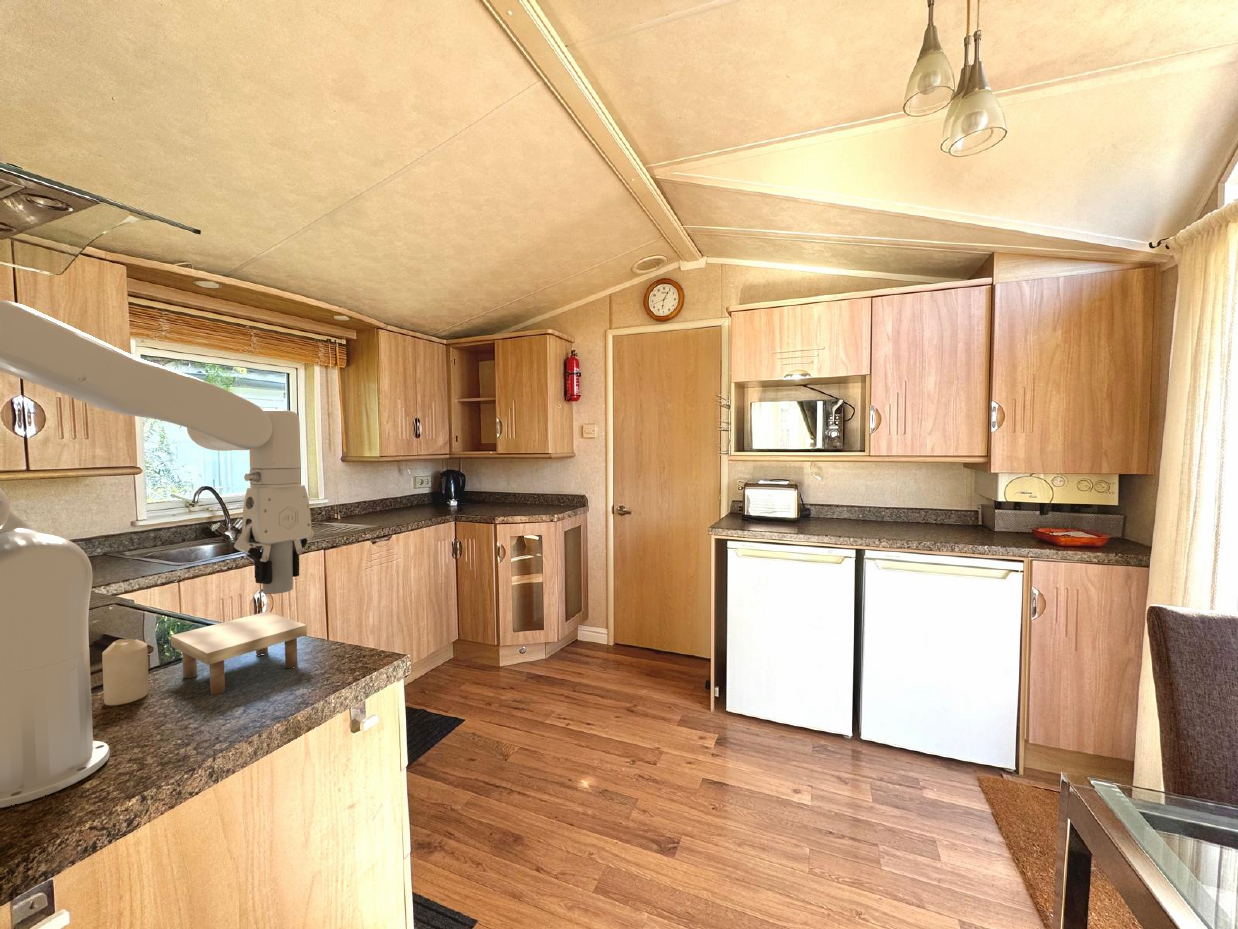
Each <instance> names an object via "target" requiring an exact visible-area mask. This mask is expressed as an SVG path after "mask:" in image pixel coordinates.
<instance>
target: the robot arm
mask: <svg viewBox="0 0 1238 929" xmlns="http://www.w3.org/2000/svg"><path fill="white" fill-rule="evenodd" d="M2 373H5V374H8V375H11V376H14V377H16V378H18V379H22V380H23V381H26V382H29V383H32V384H36V385H38V386H41V387H43V388H46V389H49V390H52V391H54V392H57V393H60V394H62V395H65V396H68V397H69V398H72V399H75V400H77V401H79V402H83V403H86V404H88V405H90V406H93V407H94V408H95V407H96V408H98V409H101V410H103V411H104V410H105V411H108V412H112V413H116V414H121V415H125V416H130V417H131V416H132V417H139V418H146V419H154V420H157V421H158V420H159V421H162V422H166V423H170V424H175V425H178V426H181V427H184V428H186V430H187V435H188V437H189V438H190V439H191V440H192V441H193V442H194V443H195V444H196V445H198V446H200V447H201V448H204V449H207V450H210V451H218V452H219V451H222V452H224V451H249V473H245V474H244V481H246V482H249V486H250V487H247V488H246V493H245V497H244V502H243V510H242V522H241V523H242V524H241V526H242V527H241V530H242V531H241V533H240V536H239V537H238V538H237V540H236V541H235V543H234V544H233V548H235V550H237V551H240V552H241V553H243V554H245V555H246V556H247V557H249V558H250V560H251V561H252V562H254V563H253V565H254V579H255V583H256V584H262V585H263V584H270V583H271V582H272V562H271V561H268V558H269V553H270V548H271V544H276V543H282V542H287V541H292V547H293V578H296V577H299V576H300V555H302V553H304V552H303V551H304V550H303V549H304V548H305V546H306V545H307V544H308V542H309V541H310V540H311V539H312V537H314V535H315V531H314V530H313V528H312V518H311V507H310V501H309V497H308V493H307V489H306V485H305V484H301V479H302V478H301V438H300V437H301V433H300V432H301V429H300V417H299V415H298V414H297V413H296V412H295V411H292V410H289V409H276V408H275V409H271V408H265V409H264V408H263V409H262V408H261V407H260V406H259V405H257V404H255V403H253V402H252V401H250V400H248V399H245V398H244V397H241V396H239V395H238V394H235V393H233V392H231V391H229V390H226V389H225V388H222V387H220V386H219V385H216V384H213V383H211V382H207V381H205V380H203V379H201V378H200V379H199V378H197V377H194V376H192V375H188V374H186V373H182V372H179V371H176V370H174V369H171V368H168V367H165V366H163V365H160V364H158V363H154V362H151V361H147V360H144V359H142V358H139V357H137V356H136V355H135V356H134V355H132V354H130V353H129V352H125V351H123V350H122V349H119V348H117V347H114V346H112V345H111V344H108V343H106V342H104V341H102V340H100V339H98V338H95V337H93V336H92V335H89V334H87V333H85V332H82V331H81V330H79V329H76V328H74V327H72V326H70V325H68V324H66V323H63V322H62V321H59V320H57V319H55V318H53V317H50V316H48V315H46V314H43V313H42V312H39V311H37V310H36V309H34V308H31V307H28V306H26V305H24V304H19V303H18V302H14V301H10V300H7V299H6V300H4V299H0V374H2ZM250 544H252V545H250ZM93 578H94V577H93V567H92V564H91V561H90V559H89V556H88V555H87V554H86V552H85V551H84V550H83V549H82V548H81V547H80V546H79V545H77V544H76V543H74V542H73V541H71V540H68V539H66V538H64V537H61V536H58V535H55V534H49V533H48V534H47V533H43V532H39V531H37V530H36V529H34V527H32V526H31V525H29V524H28V523H27V522H26V521H24V520H23V518H20V516H18V515H17V514H16V513H15V512H14V511H12V510H11V505H10V500H9V498H8V496H7V495H6V493H5V491H4V490H3V489H2V488H1V487H0V809H3V808H7V807H11V805H12V806H16V805H15V804H17V805H19V804H23V803H27V802H31V801H33V800H36V799H40V798H42V797H46V796H48V795H50V794H54V793H56V792H59V791H60V790H63V789H66V788H67V787H69V786H72V785H74V784H76V783H78V782H79V781H81V780H83V779H85V778H87V777H88V776H90V775H92V774H94V773H95V772H97V770H98V769H101V767H103V765H104V764H105V763H107V761H108V759H110V755H111V754H110V752H111V750H110V746H109V744H107V743H106V742H104V741H99V740H94V734H93V730H94V729H93V708H92V705H93V704H92V683H91V661H90V659H91V658H90V655H91V654H90V647H89V646H90V643H89V642H90V641H89V640H90V639H89V614H90V613H89V612H90V611H89V609H90V600H91V595H92V594H91V593H92V588H93V587H92V586H93ZM45 795H46V796H45Z"/></svg>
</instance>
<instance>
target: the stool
mask: <svg viewBox="0 0 1238 929" xmlns="http://www.w3.org/2000/svg"><path fill="white" fill-rule="evenodd" d="M307 628H308V627H307V624H305V623H302V622H298V621H295V620H293V619H290V618H288V617H287V618H286V617H284V616H281V615H278V614H275V613H272V612H270V611H264V612H259V613H257V614H256V613H255V614H251V615H248V616H244V617H240V618H236V619H231V620H228V621H223V622H220V623H216V624H212V625H208V626H204V627H199V628H195V629H191V630H188V631H187V630H186V631H183V632H180V633H176V634H171V635H170V641H171V642H170V643H171V645H170V646H171V647H172V648H173V649H176V650H178V651H180V652H181V655H182V656H181V657H182V678H183V679H184V678H188V679H192V678H195V677H197V676H198V667H197V665H198V662H197V661H199V662H201V663H203V664H205V665H207V666H209V691H210V694H209V695H211V696H214V695H216V696H217V695H220V694H222V693H224V692H225V691H226V683H225V682H226V680H225V660H229V659H232V658H236V657H239V656H242V655H246V654H248V653H251V652H255V655H256V654H257V655H261V654H266V655H268V654H267V653H269V647H272V646H275V645H279V644H282V643H284V664H285V667H286V668H292V669H294V668H293V667H295V668H297V667H298V638H301V637H305V636H307V635H308V629H307ZM285 667H284V668H285ZM286 668H285V669H286ZM196 675H197V676H196Z"/></svg>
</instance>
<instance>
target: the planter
mask: <svg viewBox="0 0 1238 929" xmlns="http://www.w3.org/2000/svg"><path fill="white" fill-rule="evenodd" d="M292 544H293V543H292V541H287V542H282V543H276V544H271V548H270V553H269V558H268V561H271V562H272V582H271V583H270V584H262V593H263V594H265V595H274V594H275V595H276V594H284V593H288V592H290V591H292V590H293V589H294V577H293V547H292Z"/></svg>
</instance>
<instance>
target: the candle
mask: <svg viewBox="0 0 1238 929" xmlns="http://www.w3.org/2000/svg"><path fill="white" fill-rule="evenodd" d="M101 656H102V657H101V658H102V661H101V662H102V682H103V684H102V685H103V686H102V687H103V703H104V705H105V706H119V705H125V704H129V703H132V702H135V701H138V700H140V699H143V698H145V697H146V696H147V695H148V694H149V690H150V689H149V686H150V684H149V683H150V682H149V662H148V661H149V660H148V658H149V657H148V656H149V655H148V644H147V643H146V642H144V641H142V640H139V639H137V638H136V639H131V638H128V639H127V638H126V639H122V638H121V639H118V640H115V641H113V642H112V643H111V644H110V645H109V646H108V647H107V648H105V650H104V651H102V653H101Z"/></svg>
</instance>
